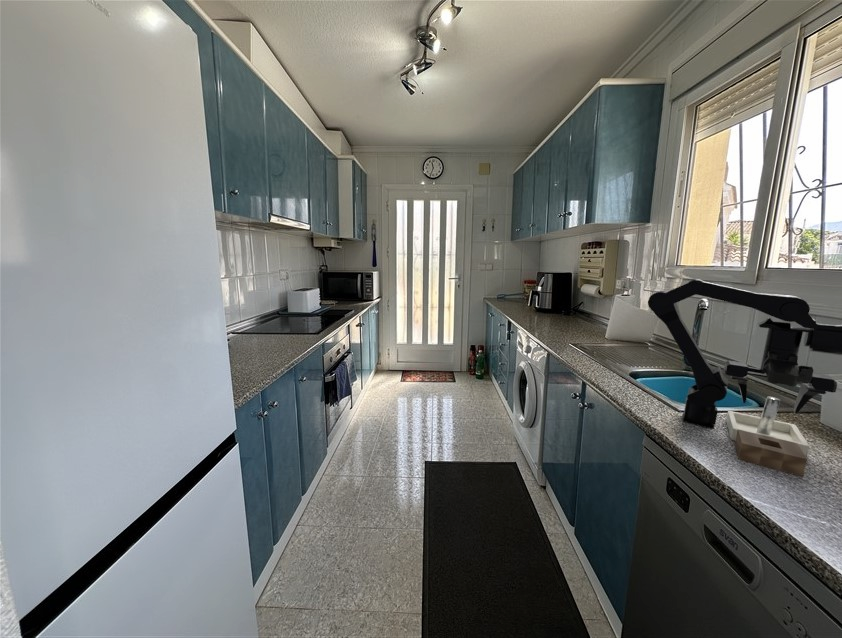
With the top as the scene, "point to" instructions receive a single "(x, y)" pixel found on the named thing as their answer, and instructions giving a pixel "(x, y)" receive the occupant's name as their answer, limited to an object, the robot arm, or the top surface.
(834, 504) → the top surface
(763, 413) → the lock pin
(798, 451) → the block
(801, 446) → the tray
